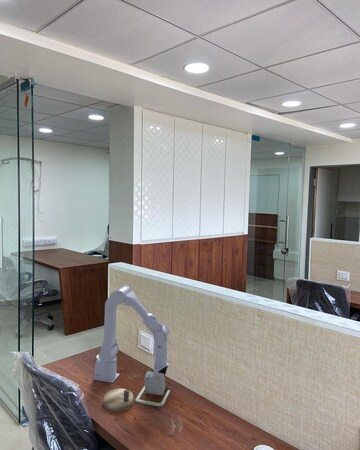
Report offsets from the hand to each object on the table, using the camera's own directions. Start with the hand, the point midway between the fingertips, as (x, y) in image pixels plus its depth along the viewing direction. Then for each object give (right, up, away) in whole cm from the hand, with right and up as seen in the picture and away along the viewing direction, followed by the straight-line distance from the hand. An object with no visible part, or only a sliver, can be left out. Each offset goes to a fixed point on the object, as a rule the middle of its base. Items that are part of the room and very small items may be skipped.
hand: (159, 382), depth 163 cm
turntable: (-16, -2, -14) cm, 22 cm away
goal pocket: (-2, -2, -9) cm, 9 cm away
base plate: (-16, -2, -14) cm, 22 cm away
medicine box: (-2, -1, -6) cm, 6 cm away
